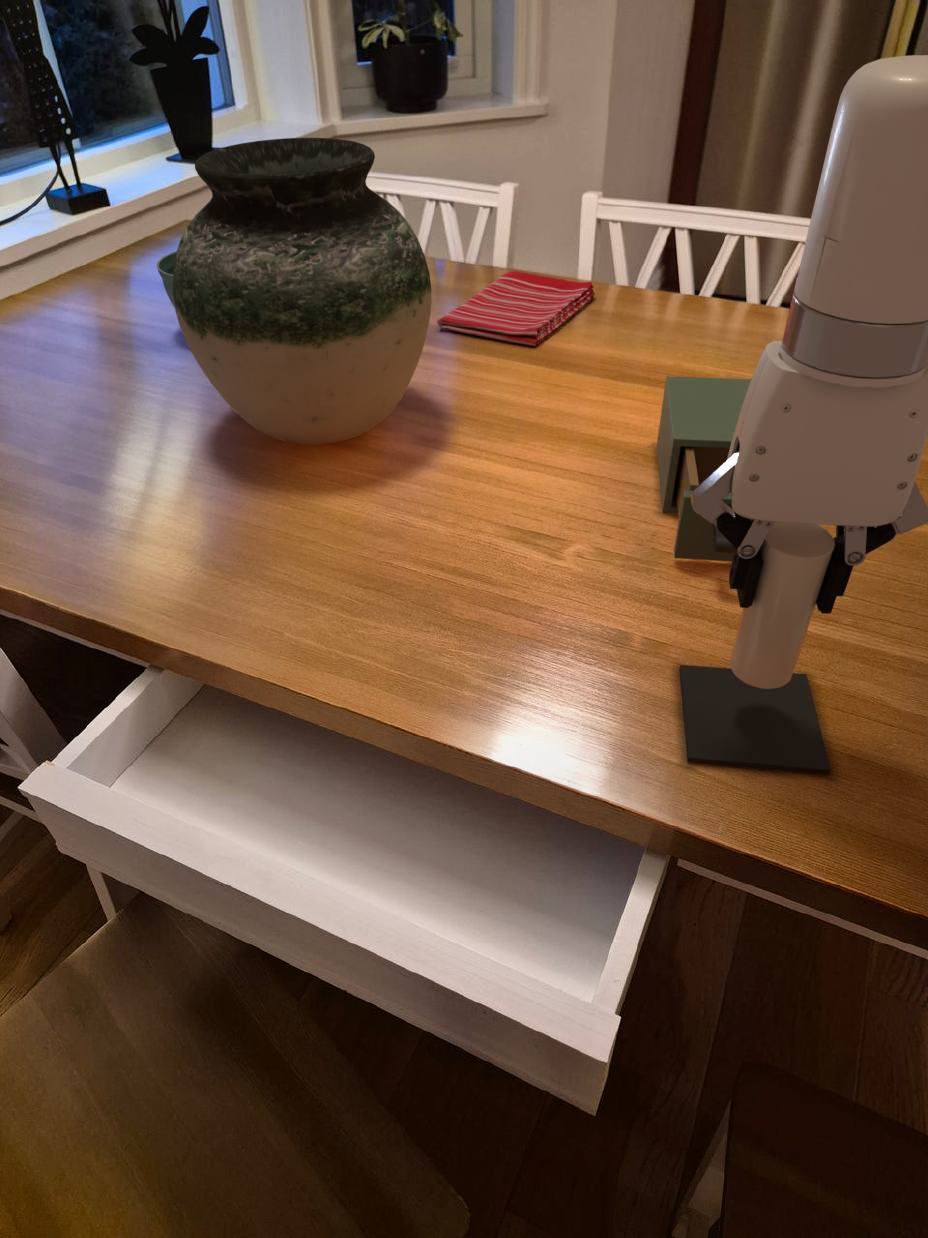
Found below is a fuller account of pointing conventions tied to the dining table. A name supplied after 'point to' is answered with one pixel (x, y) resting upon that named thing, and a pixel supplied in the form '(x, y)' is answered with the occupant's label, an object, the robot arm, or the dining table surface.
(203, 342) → the vase
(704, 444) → the cabinet
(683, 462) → the drawer
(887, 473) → the robot arm
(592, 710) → the dining table surface
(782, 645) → the cylinder
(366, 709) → the dining table surface
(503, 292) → the dish towel
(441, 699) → the dining table surface
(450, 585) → the dining table surface
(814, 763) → the mat
